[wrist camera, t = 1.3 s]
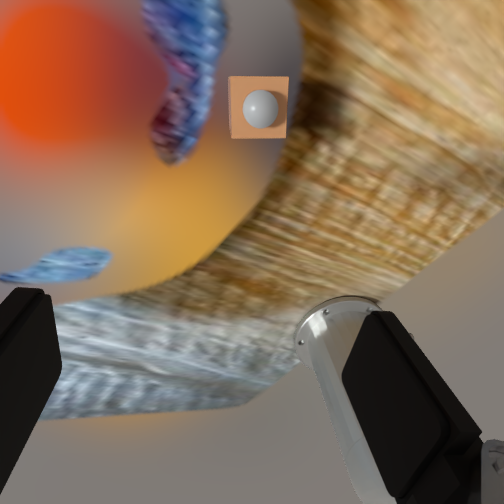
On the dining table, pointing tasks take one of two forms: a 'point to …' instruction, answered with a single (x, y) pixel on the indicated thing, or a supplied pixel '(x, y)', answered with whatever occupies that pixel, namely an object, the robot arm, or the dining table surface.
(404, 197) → the dining table surface
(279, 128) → the connector plug
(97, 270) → the dining table surface
